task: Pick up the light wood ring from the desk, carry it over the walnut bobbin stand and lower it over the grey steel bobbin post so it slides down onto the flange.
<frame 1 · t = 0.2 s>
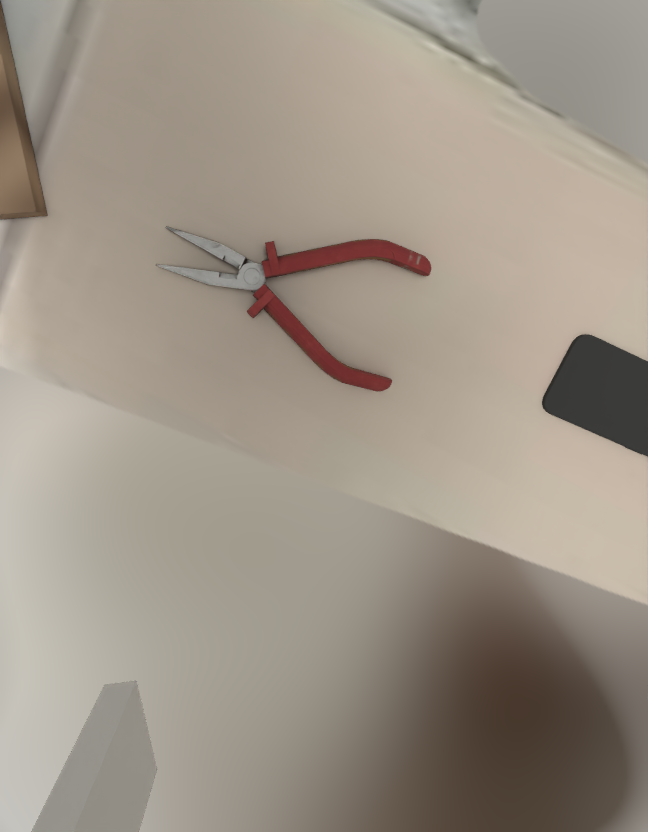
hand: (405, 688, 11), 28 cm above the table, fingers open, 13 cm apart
phone: (624, 400, 41), on the table
pliers: (309, 277, 36), on the table
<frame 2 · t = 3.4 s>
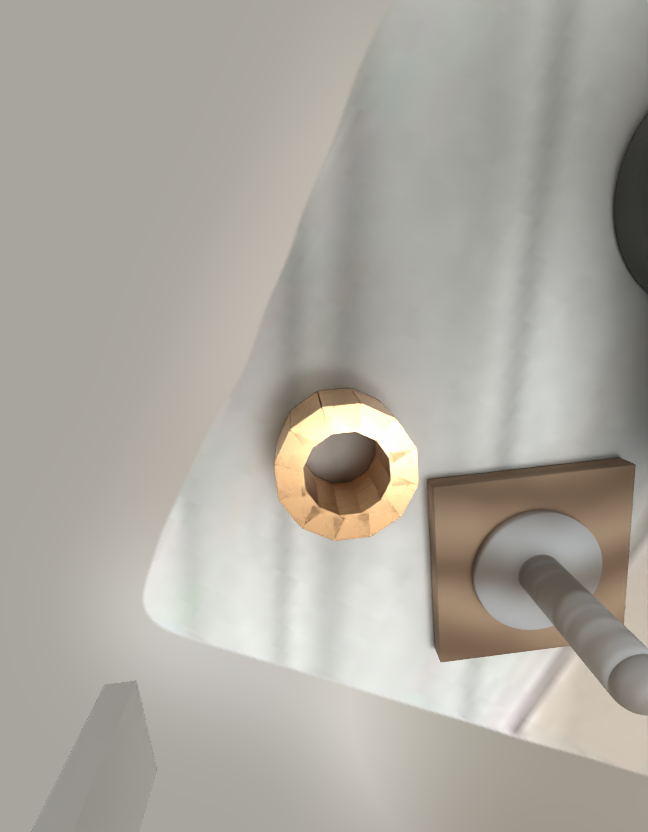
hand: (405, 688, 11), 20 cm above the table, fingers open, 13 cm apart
light wood ring: (339, 448, 31), on the table
bobbin stand: (523, 556, 34), on the table
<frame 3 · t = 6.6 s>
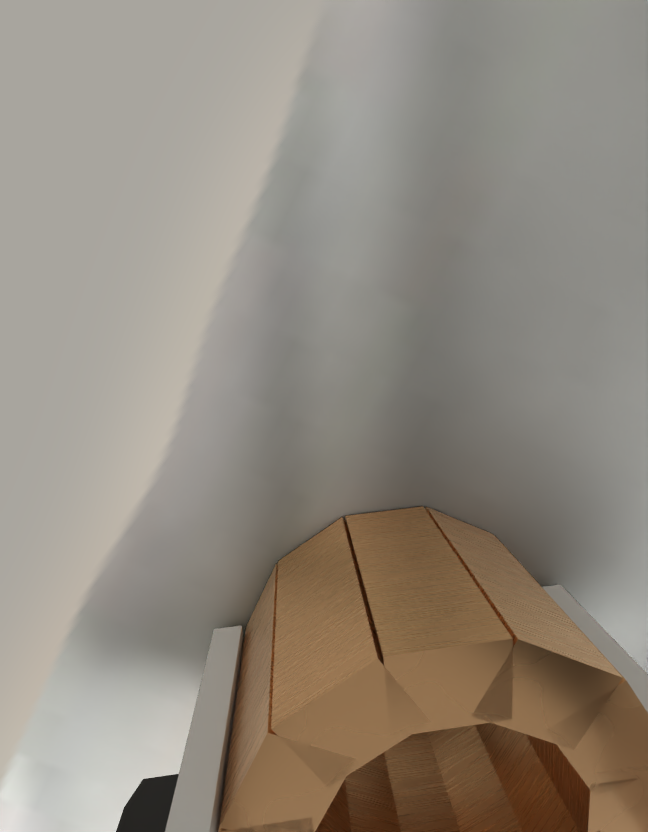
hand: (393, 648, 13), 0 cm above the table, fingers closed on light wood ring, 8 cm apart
light wood ring: (393, 641, 13), on the table, touching gripper
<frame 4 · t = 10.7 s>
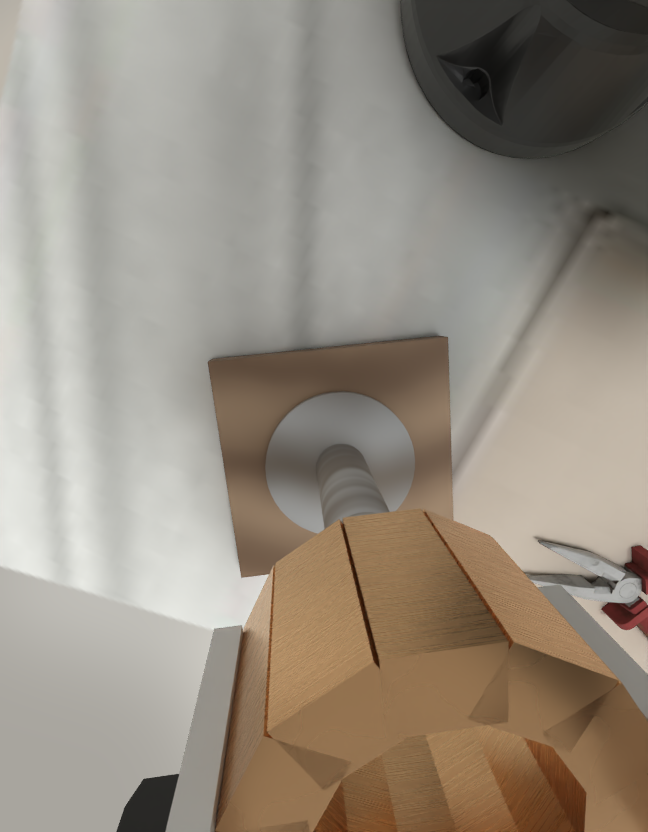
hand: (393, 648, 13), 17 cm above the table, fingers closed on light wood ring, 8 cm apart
light wood ring: (390, 643, 13), point 17 cm above the table, touching gripper
bobbin stand: (337, 455, 29), on the table
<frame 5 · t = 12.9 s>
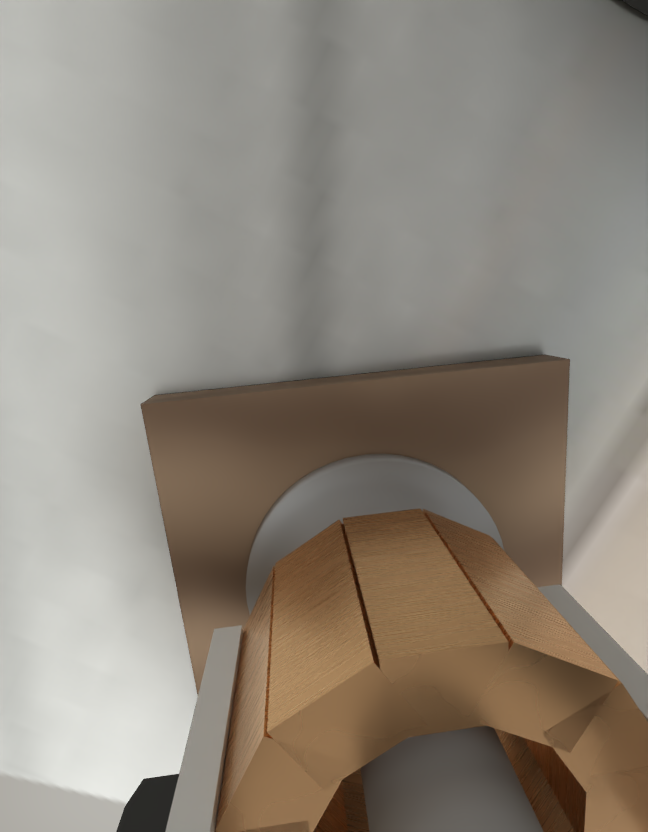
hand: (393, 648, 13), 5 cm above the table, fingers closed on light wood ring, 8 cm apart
light wood ring: (390, 643, 13), point 5 cm above the table, touching gripper
bobbin stand: (367, 550, 18), on the table
when the fingers open (3 cm above the table, at t = 14.5 s): light wood ring stays where it is, resting on bobbin stand.
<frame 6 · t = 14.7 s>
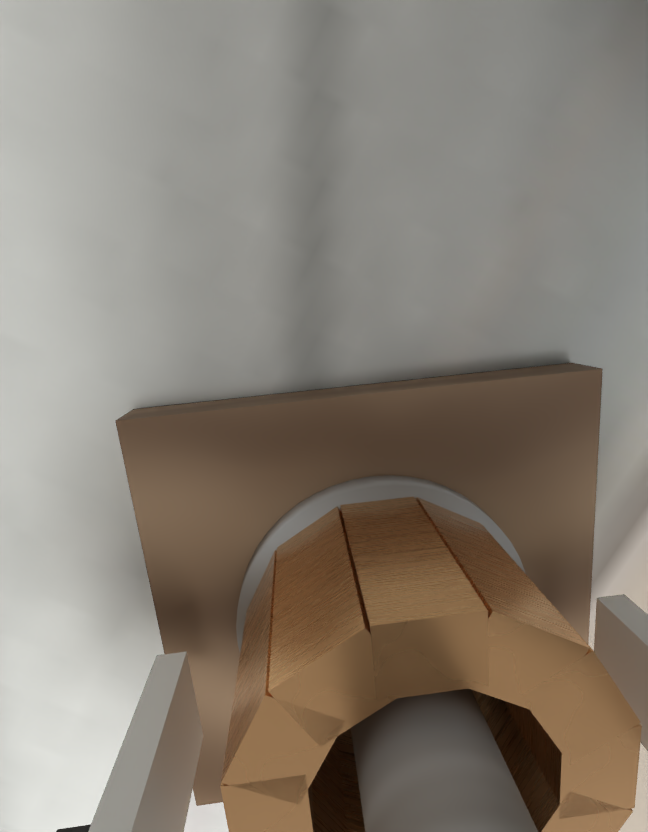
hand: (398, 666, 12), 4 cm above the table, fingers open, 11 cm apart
light wood ring: (386, 625, 14), point 2 cm above the table, touching bobbin stand
bobbin stand: (372, 580, 16), on the table
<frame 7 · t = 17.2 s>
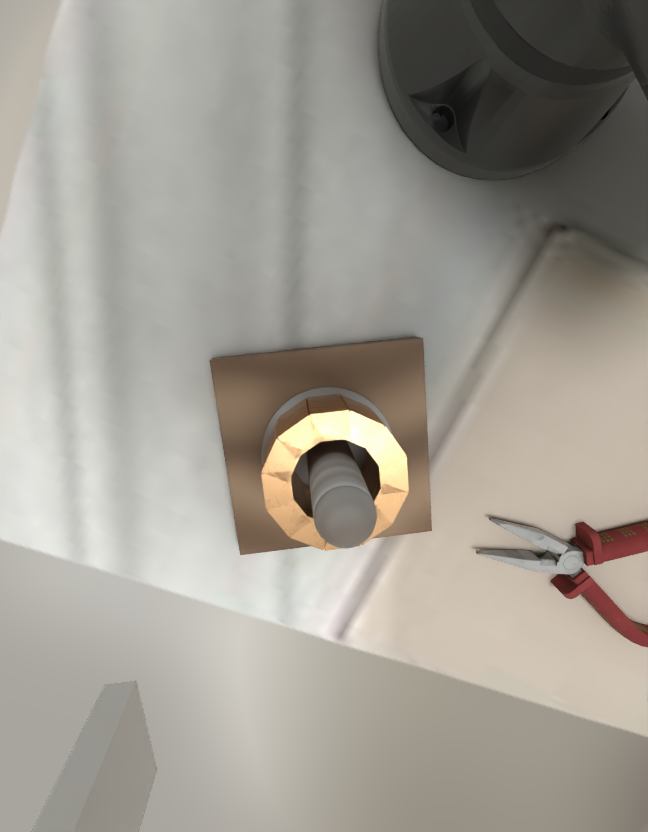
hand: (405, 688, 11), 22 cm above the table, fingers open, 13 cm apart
light wood ring: (328, 455, 30), point 2 cm above the table, touching bobbin stand
bobbin stand: (326, 444, 33), on the table
pliers: (606, 543, 37), on the table
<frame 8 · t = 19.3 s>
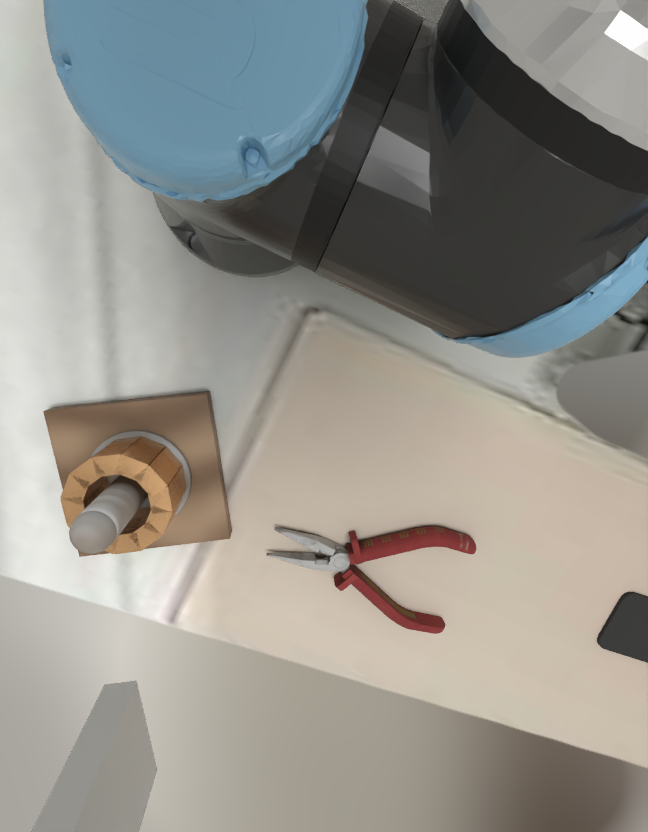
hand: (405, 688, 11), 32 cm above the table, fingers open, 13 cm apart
light wood ring: (138, 481, 40), point 2 cm above the table, touching bobbin stand
bobbin stand: (146, 472, 42), on the table
pliers: (380, 547, 47), on the table
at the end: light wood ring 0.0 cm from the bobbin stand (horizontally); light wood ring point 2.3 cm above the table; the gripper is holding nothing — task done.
